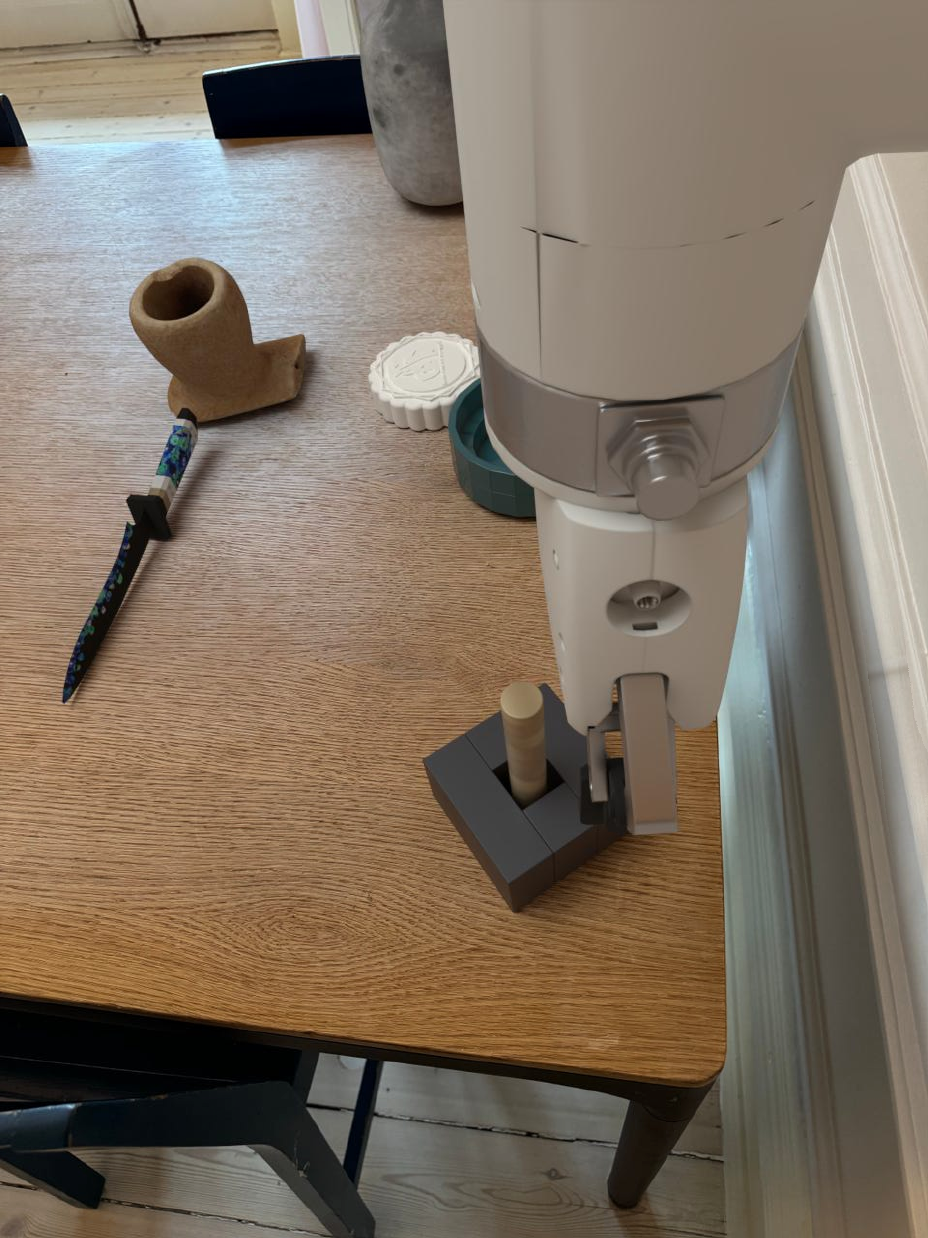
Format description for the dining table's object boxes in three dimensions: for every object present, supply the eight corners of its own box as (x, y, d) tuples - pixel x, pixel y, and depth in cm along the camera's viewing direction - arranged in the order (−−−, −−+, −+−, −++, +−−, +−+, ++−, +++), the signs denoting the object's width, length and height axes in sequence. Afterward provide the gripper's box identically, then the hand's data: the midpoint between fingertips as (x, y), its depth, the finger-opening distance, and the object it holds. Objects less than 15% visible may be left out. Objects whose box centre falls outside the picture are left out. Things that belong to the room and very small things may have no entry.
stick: (535, 790, 61) (526, 673, 48) (555, 816, 60) (551, 703, 47) (507, 808, 61) (491, 695, 48) (527, 834, 59) (516, 726, 46)
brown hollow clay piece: (171, 450, 86) (106, 323, 74) (173, 377, 93) (114, 250, 81) (318, 420, 87) (278, 289, 74) (310, 349, 94) (271, 219, 81)
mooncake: (371, 363, 91) (364, 335, 88) (482, 347, 91) (479, 318, 88) (375, 440, 84) (368, 412, 81) (495, 423, 84) (493, 394, 81)
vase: (401, 160, 116) (356, -123, 92) (517, 160, 113) (503, -133, 88) (370, 225, 107) (312, -69, 83) (496, 227, 104) (473, -77, 80)
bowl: (548, 393, 86) (547, 343, 81) (641, 473, 78) (646, 424, 73) (427, 456, 82) (418, 408, 77) (512, 547, 74) (508, 500, 70)
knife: (195, 433, 85) (176, 402, 82) (222, 437, 85) (204, 405, 81) (53, 710, 72) (22, 688, 68) (84, 716, 71) (54, 694, 67)
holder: (547, 722, 64) (545, 681, 59) (634, 828, 59) (640, 793, 54) (433, 796, 62) (421, 759, 57) (513, 913, 56) (508, 884, 51)
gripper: (901, 637, 16) (744, 911, 30) (714, 166, 26) (662, 536, 40) (498, 668, 16) (529, 924, 30) (468, 194, 26) (502, 549, 40)
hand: (605, 703), depth 35 cm, fingers open, 9 cm apart
